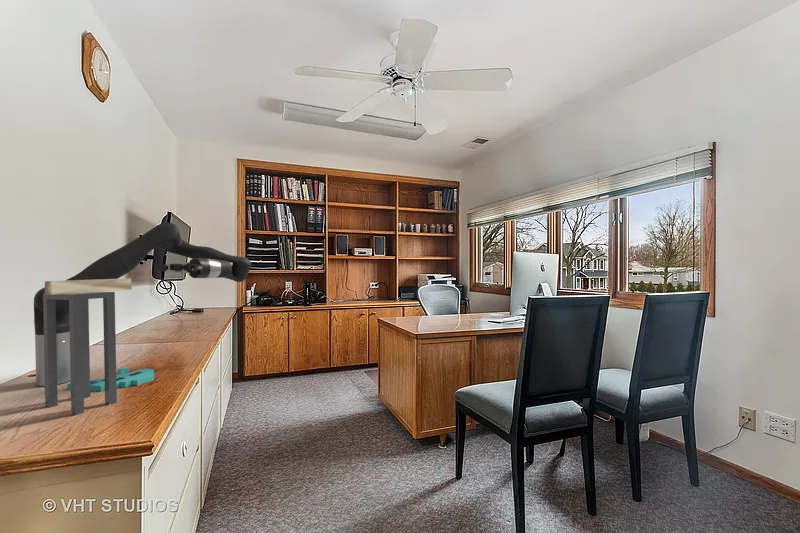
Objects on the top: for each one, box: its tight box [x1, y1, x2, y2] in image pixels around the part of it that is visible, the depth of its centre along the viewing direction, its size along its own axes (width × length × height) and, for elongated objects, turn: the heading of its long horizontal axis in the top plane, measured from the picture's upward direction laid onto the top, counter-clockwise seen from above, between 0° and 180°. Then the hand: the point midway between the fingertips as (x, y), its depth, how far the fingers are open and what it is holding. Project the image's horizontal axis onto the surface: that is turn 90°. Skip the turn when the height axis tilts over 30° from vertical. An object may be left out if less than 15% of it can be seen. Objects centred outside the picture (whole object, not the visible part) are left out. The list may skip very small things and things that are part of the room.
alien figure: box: [67, 367, 155, 392], centre depth 131 cm, size 20×2×20 cm
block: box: [44, 278, 132, 295], centre depth 112 cm, size 4×20×4 cm, turn 154°
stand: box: [43, 291, 118, 416], centre depth 109 cm, size 16×10×32 cm, turn 64°
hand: (162, 267), depth 130 cm, fingers open, 8 cm apart
